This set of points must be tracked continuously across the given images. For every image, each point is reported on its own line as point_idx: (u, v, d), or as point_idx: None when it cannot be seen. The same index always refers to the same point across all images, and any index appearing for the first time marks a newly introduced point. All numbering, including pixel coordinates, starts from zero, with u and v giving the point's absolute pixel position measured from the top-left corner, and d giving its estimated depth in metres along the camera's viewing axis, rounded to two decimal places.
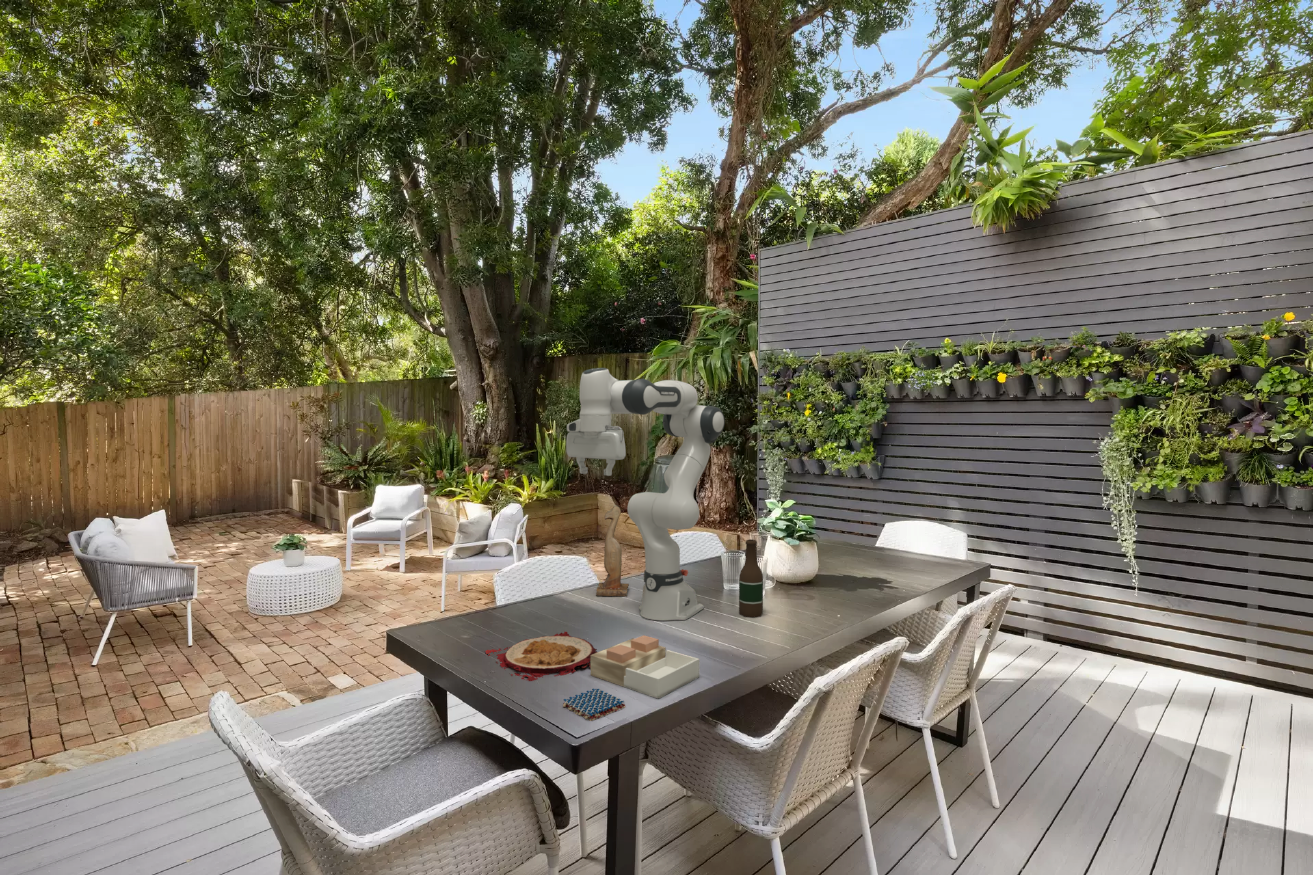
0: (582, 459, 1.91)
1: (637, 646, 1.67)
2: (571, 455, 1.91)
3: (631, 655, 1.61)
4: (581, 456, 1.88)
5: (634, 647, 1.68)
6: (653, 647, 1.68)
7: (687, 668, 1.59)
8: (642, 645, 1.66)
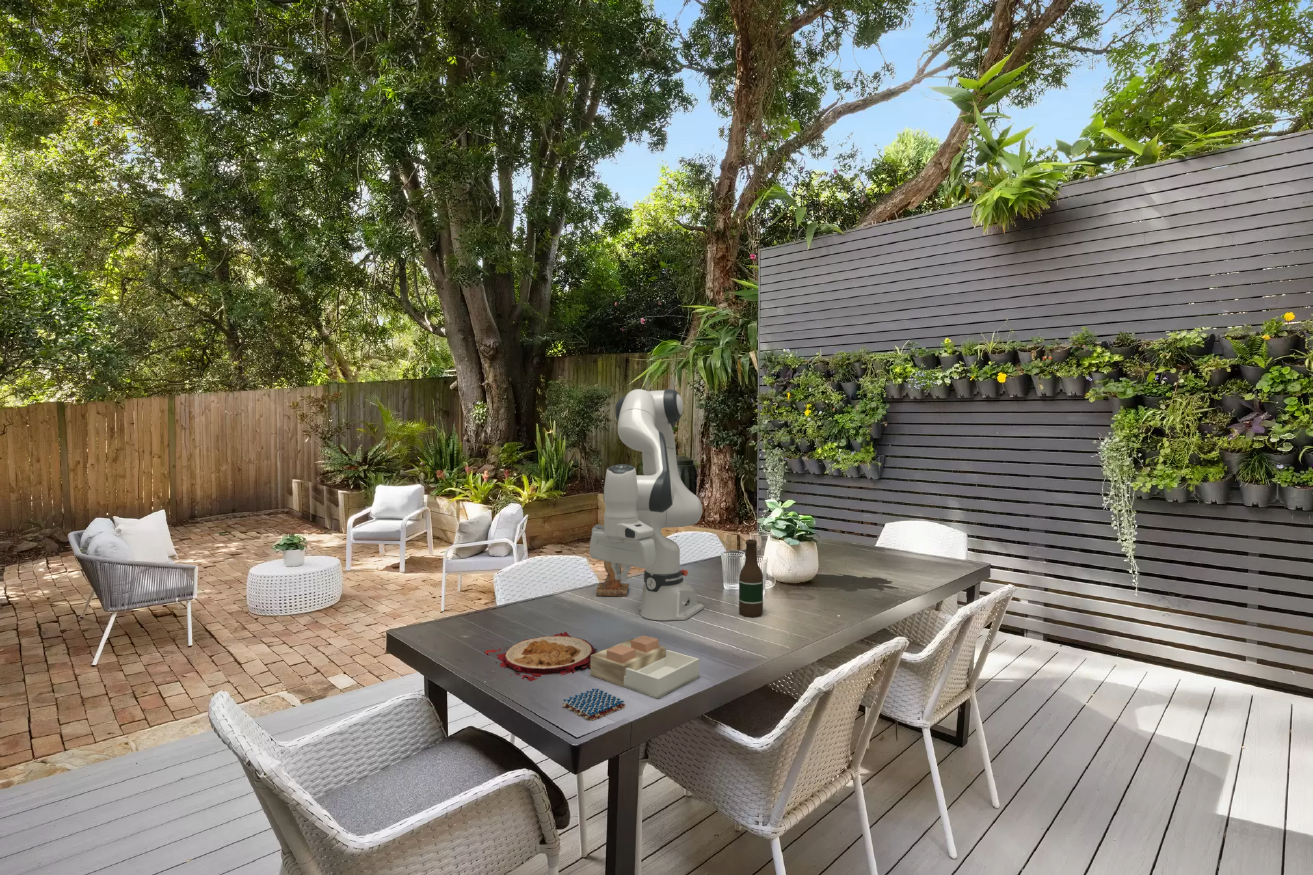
0: None
1: (637, 646, 1.67)
2: None
3: (631, 655, 1.61)
4: None
5: (634, 647, 1.68)
6: (653, 647, 1.68)
7: (687, 668, 1.59)
8: (642, 645, 1.66)
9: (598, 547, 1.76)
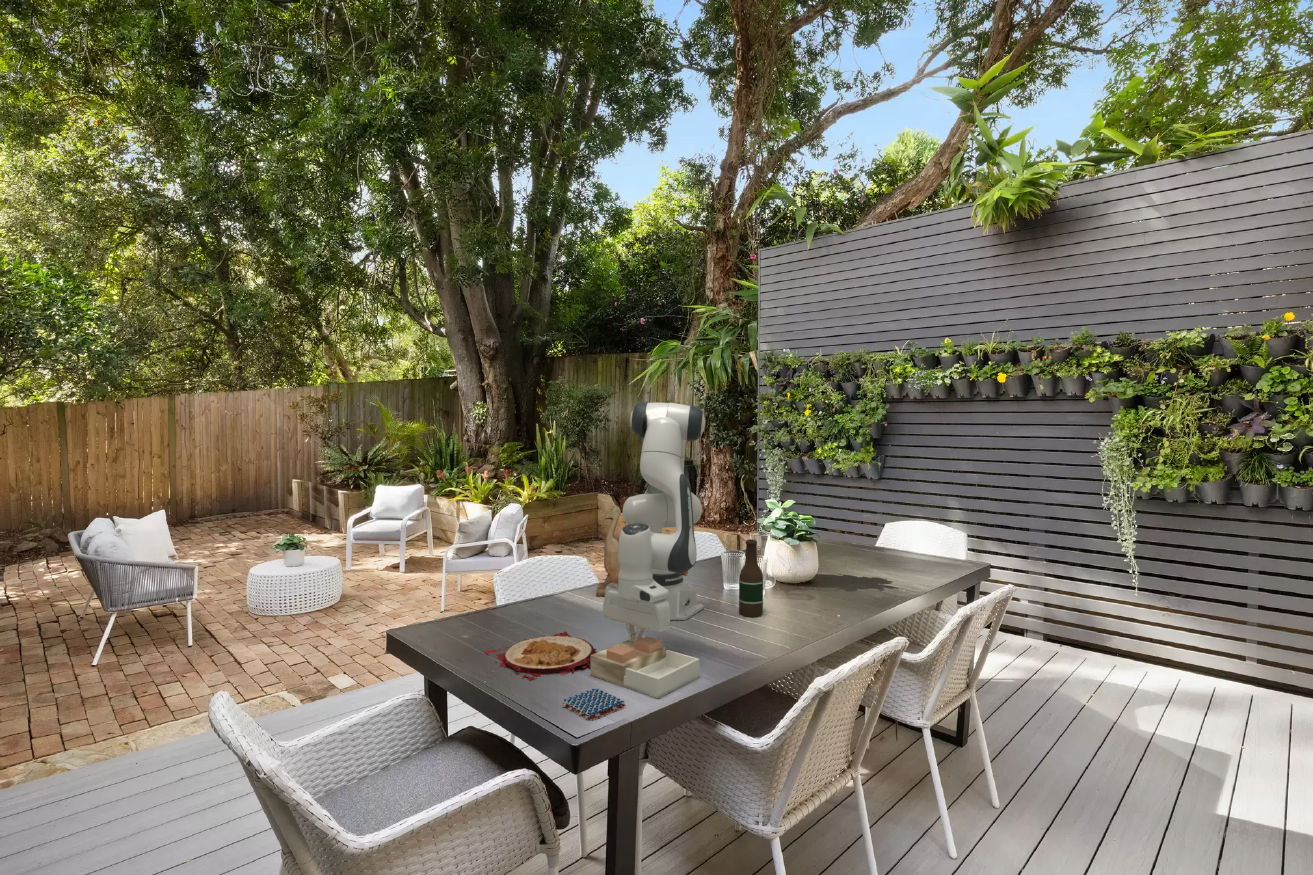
0: None
1: (640, 646, 1.67)
2: None
3: (631, 655, 1.61)
4: None
5: (637, 648, 1.67)
6: (656, 648, 1.67)
7: (687, 668, 1.59)
8: (645, 646, 1.66)
9: (611, 607, 1.73)
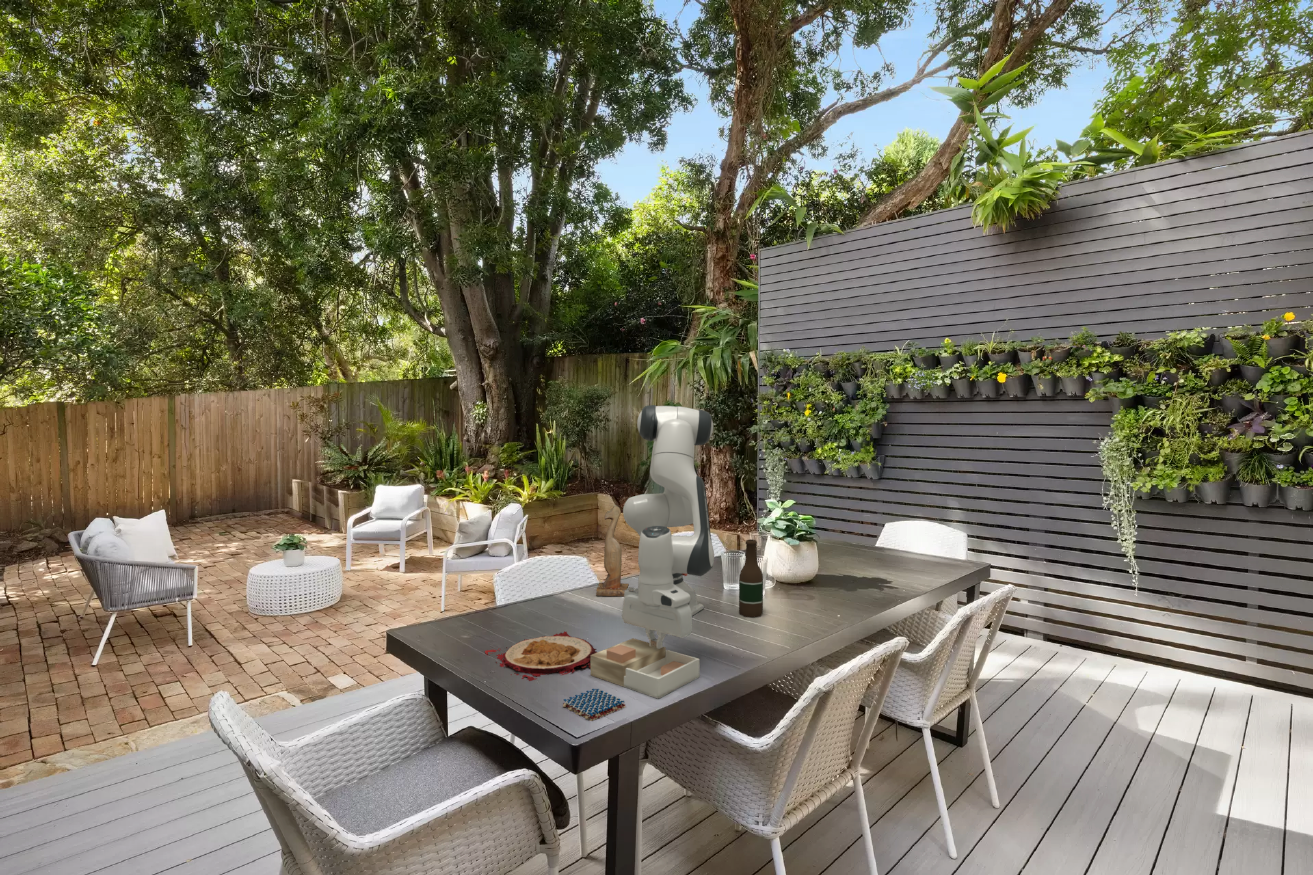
0: None
1: None
2: None
3: (631, 655, 1.61)
4: None
5: None
6: None
7: (687, 668, 1.59)
8: (664, 674, 1.62)
9: (631, 612, 1.69)
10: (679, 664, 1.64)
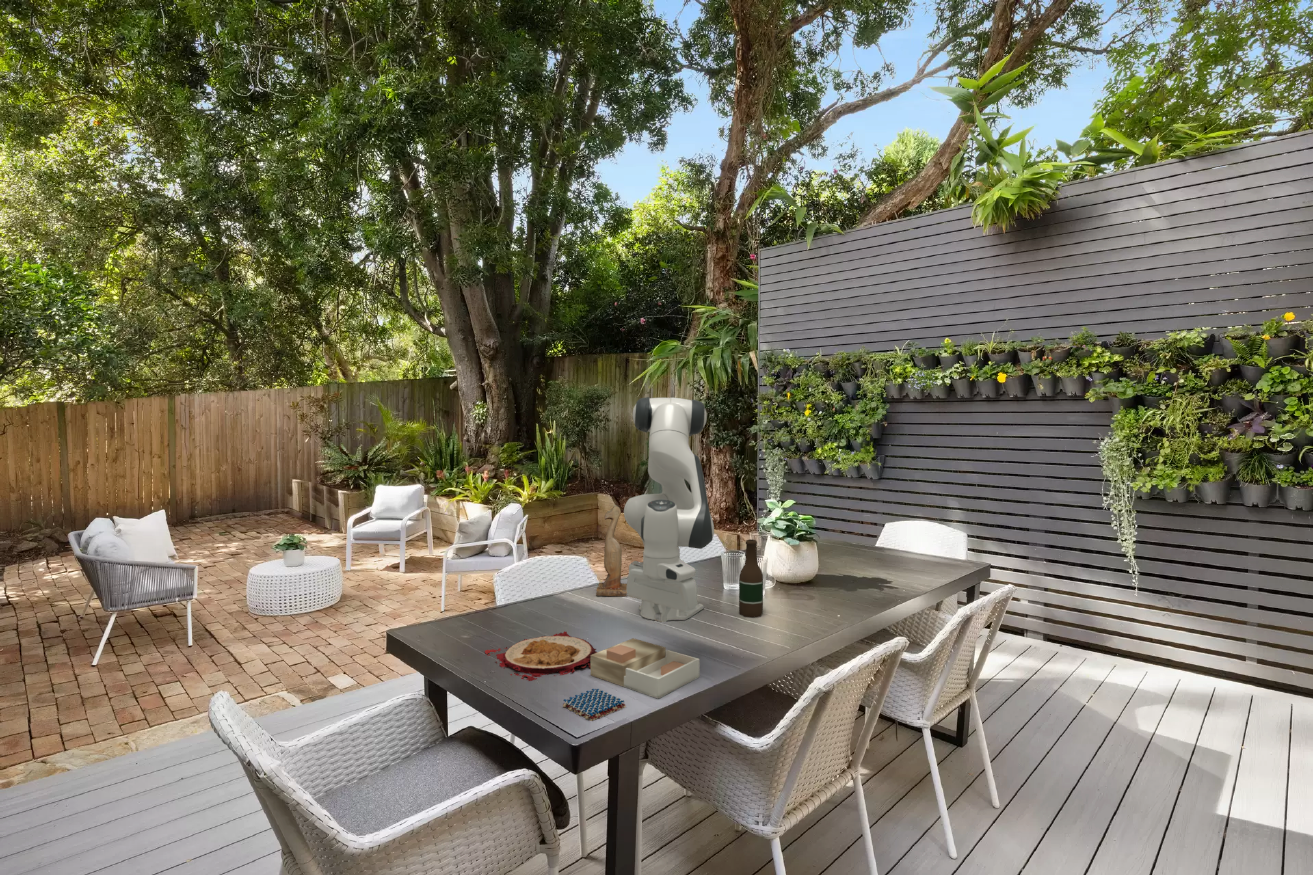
0: None
1: None
2: None
3: (631, 655, 1.61)
4: None
5: None
6: None
7: (687, 668, 1.59)
8: (664, 674, 1.62)
9: (635, 586, 1.68)
10: (679, 664, 1.64)
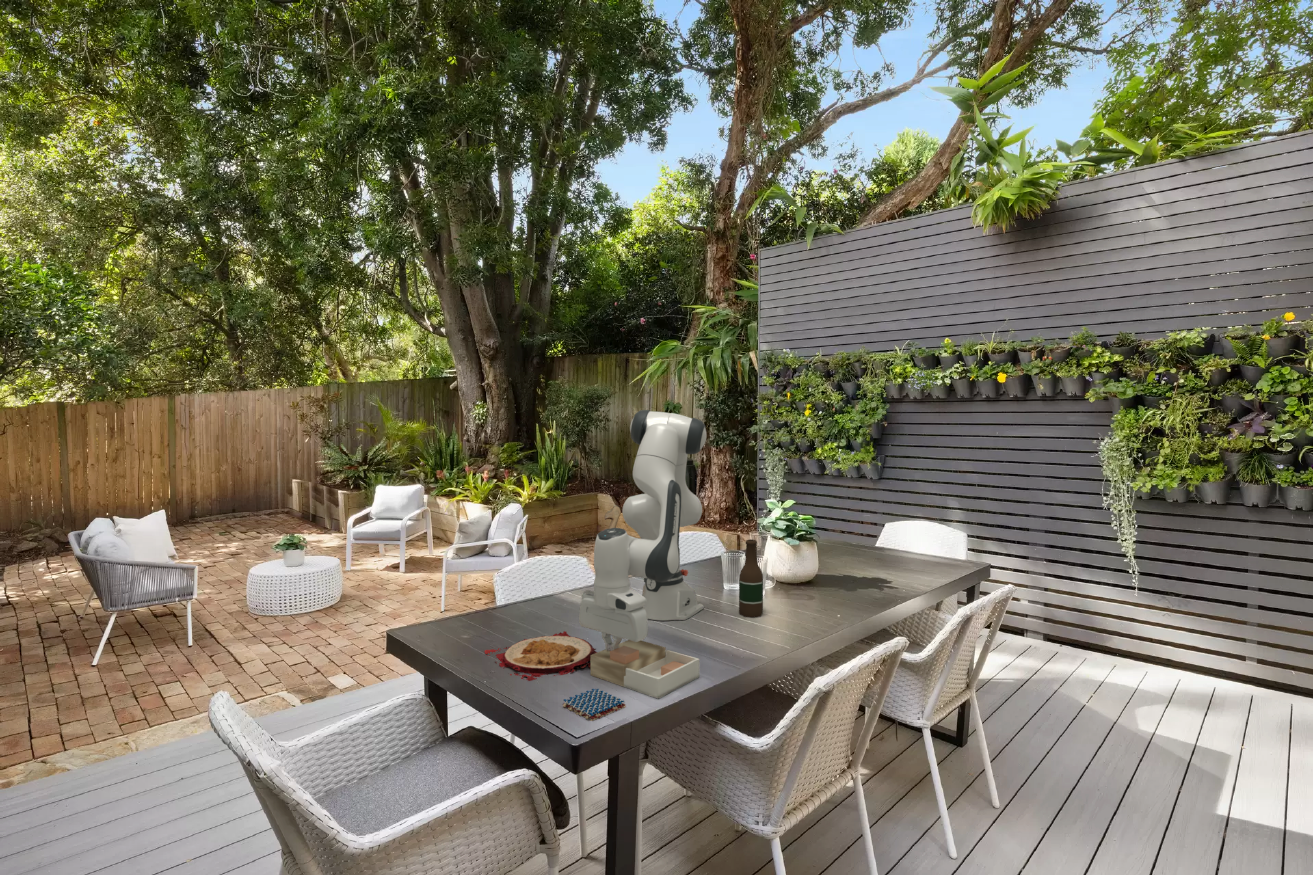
0: None
1: None
2: None
3: (634, 656, 1.60)
4: None
5: None
6: None
7: (687, 668, 1.59)
8: (664, 674, 1.62)
9: (587, 615, 1.66)
10: (679, 664, 1.64)
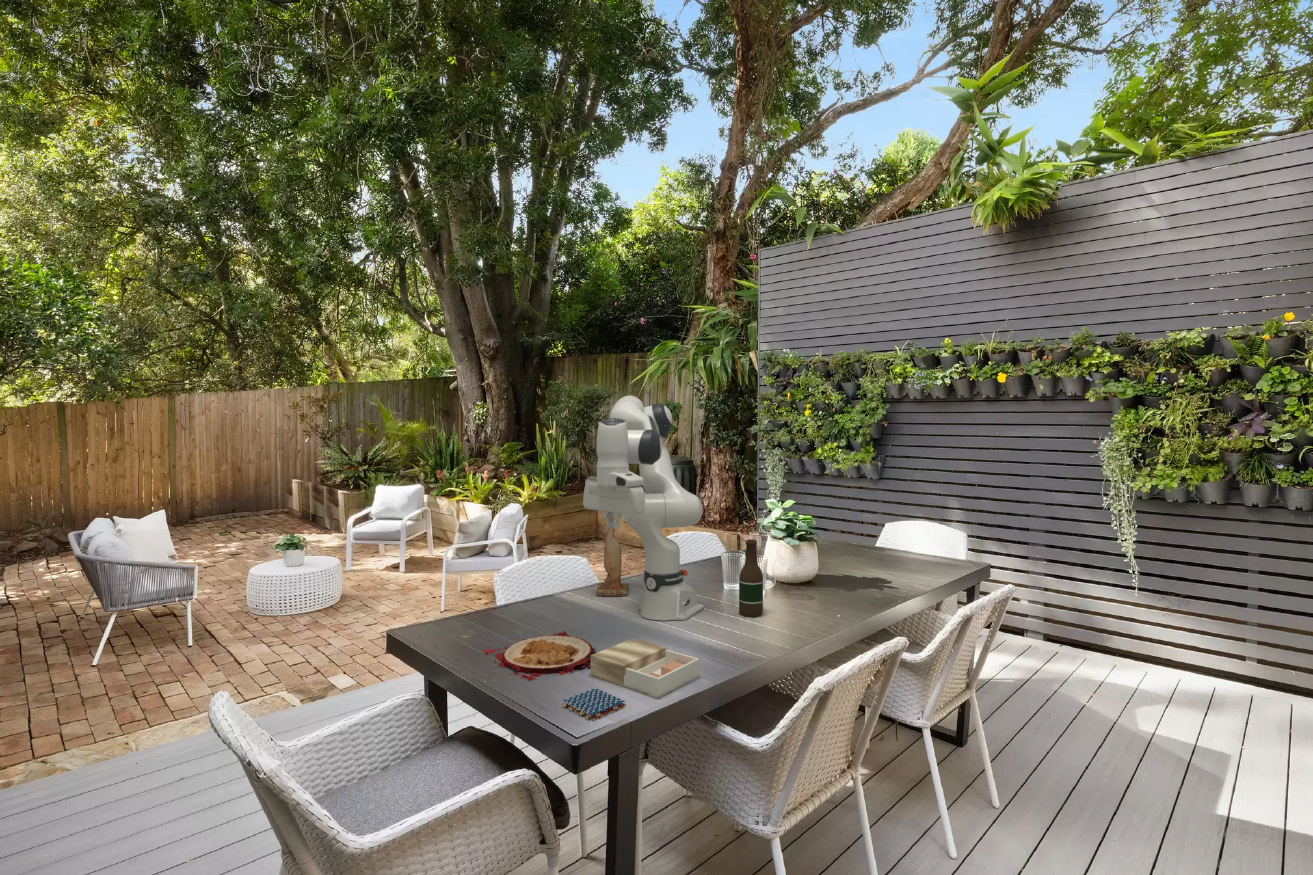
0: None
1: None
2: None
3: None
4: None
5: None
6: None
7: (687, 668, 1.59)
8: (664, 674, 1.62)
9: (590, 497, 1.85)
10: (679, 664, 1.64)
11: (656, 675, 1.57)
